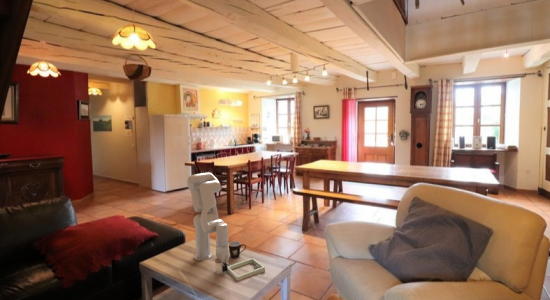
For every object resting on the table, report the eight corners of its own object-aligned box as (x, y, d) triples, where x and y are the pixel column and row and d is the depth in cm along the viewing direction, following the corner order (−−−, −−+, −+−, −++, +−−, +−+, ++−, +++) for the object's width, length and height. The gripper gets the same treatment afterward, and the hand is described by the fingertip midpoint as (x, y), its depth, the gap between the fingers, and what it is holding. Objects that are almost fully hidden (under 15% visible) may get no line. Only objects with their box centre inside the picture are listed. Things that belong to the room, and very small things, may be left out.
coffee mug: (226, 259, 198) (226, 245, 197) (231, 253, 206) (231, 240, 205) (242, 261, 195) (242, 247, 194) (246, 255, 203) (246, 242, 202)
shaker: (214, 272, 181) (213, 259, 180) (222, 269, 184) (221, 256, 183) (217, 276, 177) (217, 262, 176) (225, 273, 180) (225, 259, 179)
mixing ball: (253, 270, 183) (252, 265, 182) (257, 269, 185) (257, 263, 184) (255, 273, 180) (255, 267, 179) (260, 271, 182) (260, 266, 181)
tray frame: (226, 271, 182) (226, 266, 182) (253, 261, 194) (253, 257, 193) (237, 281, 170) (237, 277, 170) (265, 271, 182) (264, 267, 181)
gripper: (211, 239, 184) (212, 265, 186) (222, 248, 170) (223, 277, 172) (222, 236, 189) (222, 262, 191) (233, 245, 175) (234, 273, 177)
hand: (223, 269), depth 182 cm, fingers closed on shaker, 4 cm apart
